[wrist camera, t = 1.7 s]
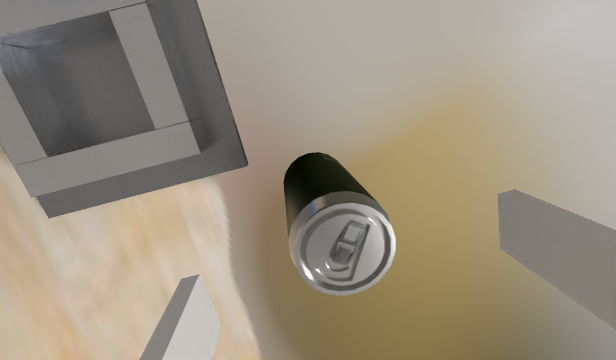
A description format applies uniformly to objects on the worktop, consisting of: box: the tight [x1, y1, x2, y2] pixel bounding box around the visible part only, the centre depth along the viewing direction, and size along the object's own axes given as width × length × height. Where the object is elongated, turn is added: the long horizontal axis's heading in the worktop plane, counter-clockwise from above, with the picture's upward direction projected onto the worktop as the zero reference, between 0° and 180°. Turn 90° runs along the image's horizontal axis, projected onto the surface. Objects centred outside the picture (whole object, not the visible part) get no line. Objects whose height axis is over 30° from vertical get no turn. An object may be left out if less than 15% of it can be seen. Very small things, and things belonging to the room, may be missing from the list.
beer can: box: [284, 152, 396, 296], centre depth 19 cm, size 5×5×12 cm
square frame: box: [0, 0, 248, 218], centre depth 20 cm, size 16×16×4 cm
